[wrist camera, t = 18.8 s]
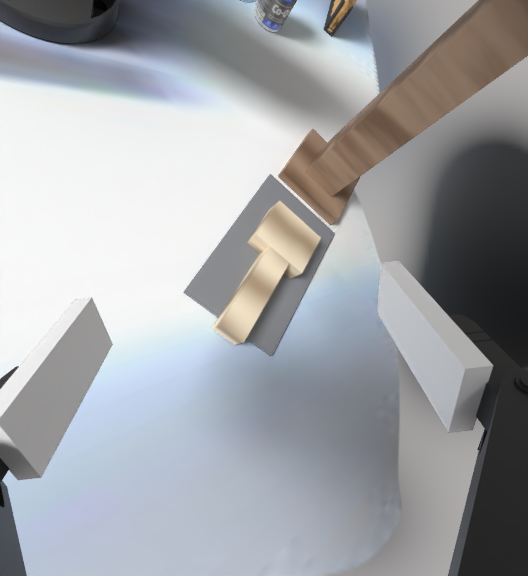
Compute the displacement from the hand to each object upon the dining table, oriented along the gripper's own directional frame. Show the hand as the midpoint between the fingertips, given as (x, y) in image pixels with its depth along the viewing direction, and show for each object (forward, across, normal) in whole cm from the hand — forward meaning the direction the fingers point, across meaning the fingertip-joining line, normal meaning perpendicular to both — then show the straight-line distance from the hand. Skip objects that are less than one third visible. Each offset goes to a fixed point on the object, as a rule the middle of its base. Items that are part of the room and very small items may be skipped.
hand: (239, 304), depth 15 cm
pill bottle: (+52, +6, +18) cm, 55 cm away
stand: (+36, +10, -3) cm, 38 cm away
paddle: (+21, 0, -10) cm, 24 cm away
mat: (+24, +2, -9) cm, 26 cm away
